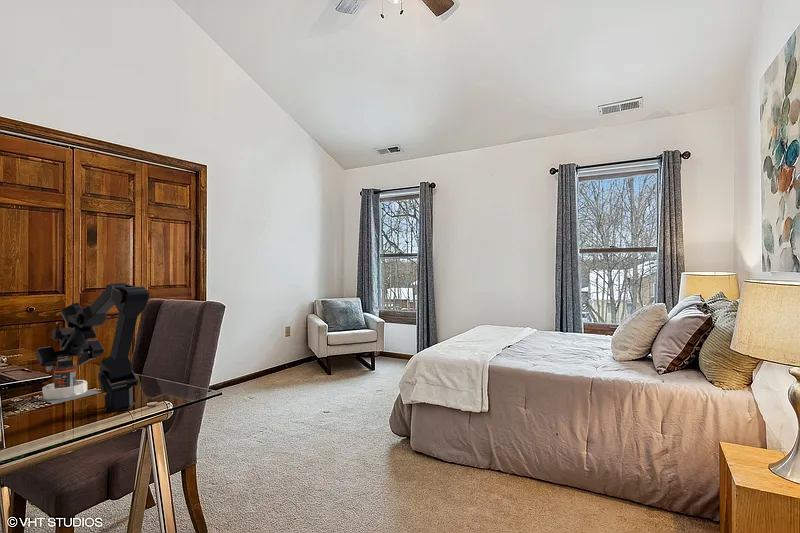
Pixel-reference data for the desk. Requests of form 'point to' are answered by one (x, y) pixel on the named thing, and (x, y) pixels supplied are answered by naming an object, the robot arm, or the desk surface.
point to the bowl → (64, 391)
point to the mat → (89, 392)
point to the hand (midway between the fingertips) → (62, 367)
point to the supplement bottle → (64, 374)
